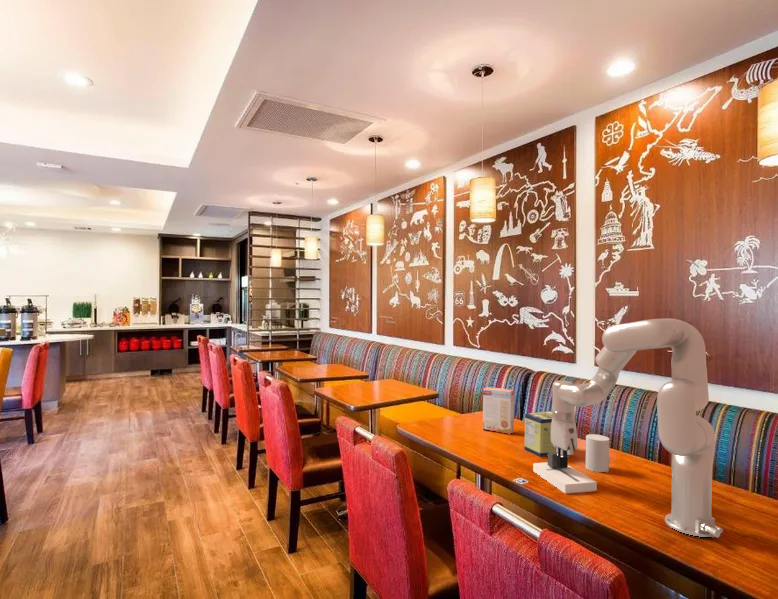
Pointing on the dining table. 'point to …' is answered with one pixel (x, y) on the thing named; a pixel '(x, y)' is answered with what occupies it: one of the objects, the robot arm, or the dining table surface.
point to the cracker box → (498, 410)
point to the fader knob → (552, 459)
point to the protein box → (538, 433)
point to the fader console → (565, 478)
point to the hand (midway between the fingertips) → (562, 466)
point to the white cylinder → (597, 453)
